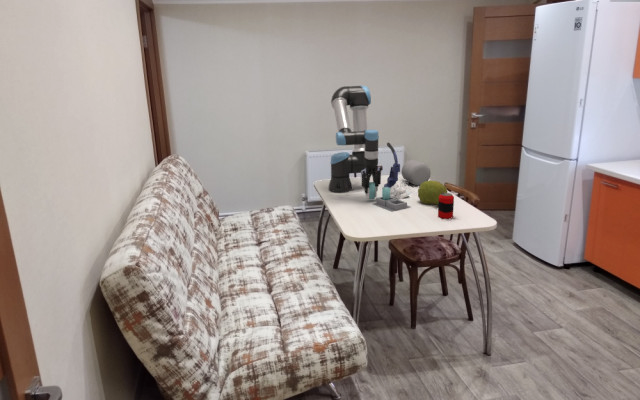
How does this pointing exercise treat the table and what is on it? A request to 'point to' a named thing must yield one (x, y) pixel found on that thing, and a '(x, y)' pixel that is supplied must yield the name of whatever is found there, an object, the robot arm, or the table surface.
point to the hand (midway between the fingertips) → (371, 197)
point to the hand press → (393, 170)
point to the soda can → (445, 205)
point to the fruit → (431, 192)
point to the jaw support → (398, 191)
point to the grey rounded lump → (415, 172)
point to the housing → (391, 204)
